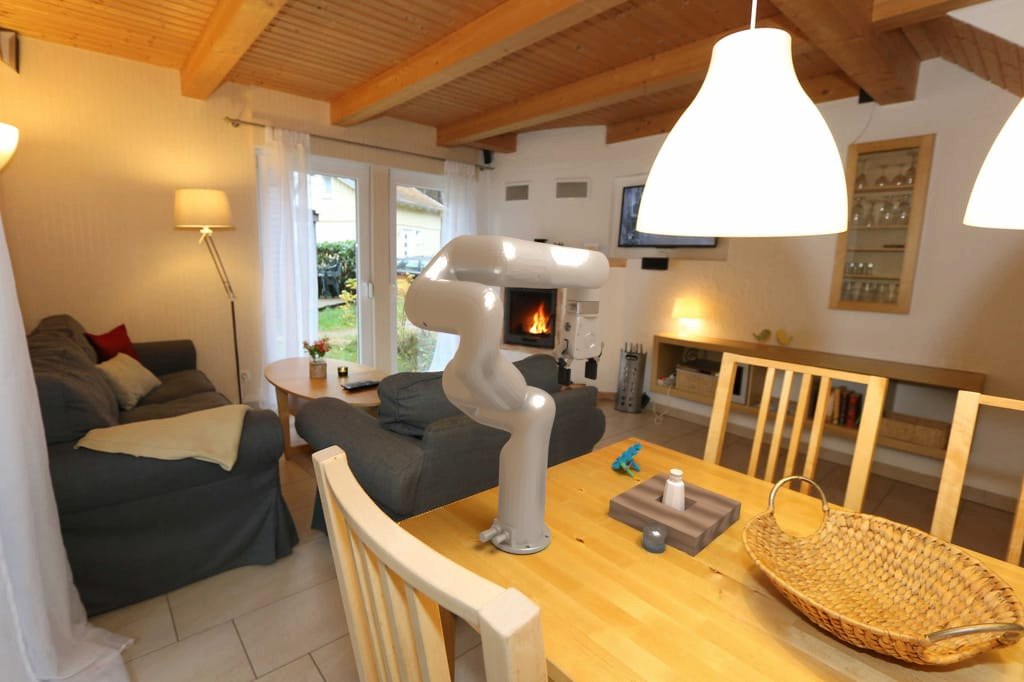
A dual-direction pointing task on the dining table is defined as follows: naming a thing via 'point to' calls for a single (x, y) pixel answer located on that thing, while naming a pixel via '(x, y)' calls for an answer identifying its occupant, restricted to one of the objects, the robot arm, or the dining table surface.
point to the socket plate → (677, 513)
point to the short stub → (654, 538)
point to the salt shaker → (674, 490)
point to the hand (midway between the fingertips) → (577, 381)
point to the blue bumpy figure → (628, 459)
